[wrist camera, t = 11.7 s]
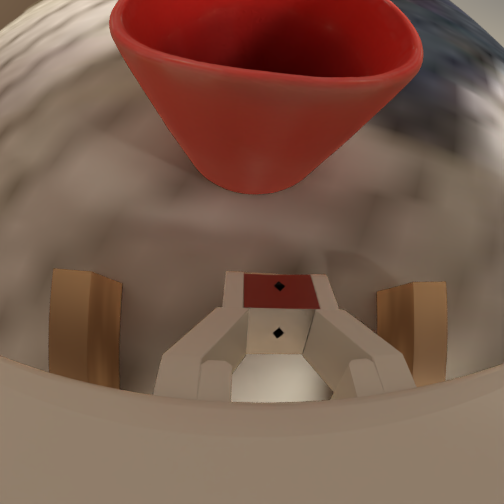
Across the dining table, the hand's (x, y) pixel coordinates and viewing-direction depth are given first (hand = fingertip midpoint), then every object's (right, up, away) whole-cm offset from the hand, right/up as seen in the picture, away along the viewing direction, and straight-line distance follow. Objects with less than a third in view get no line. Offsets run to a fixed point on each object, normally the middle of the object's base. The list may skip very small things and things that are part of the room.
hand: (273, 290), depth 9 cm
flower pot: (-1, +8, +7) cm, 11 cm away
